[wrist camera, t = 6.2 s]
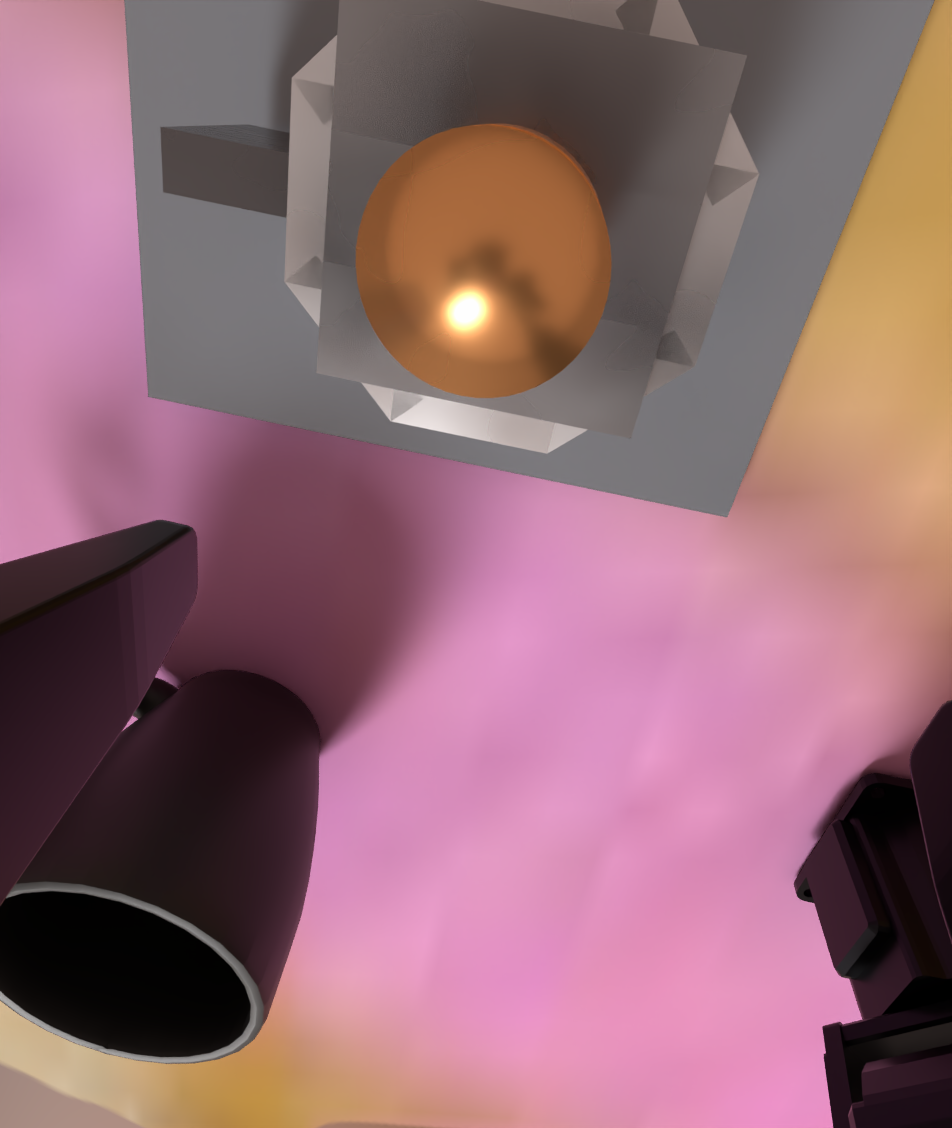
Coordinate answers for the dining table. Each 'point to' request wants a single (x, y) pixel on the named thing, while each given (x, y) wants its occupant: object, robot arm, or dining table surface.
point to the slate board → (591, 460)
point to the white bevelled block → (520, 97)
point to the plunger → (484, 260)
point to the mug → (172, 877)
